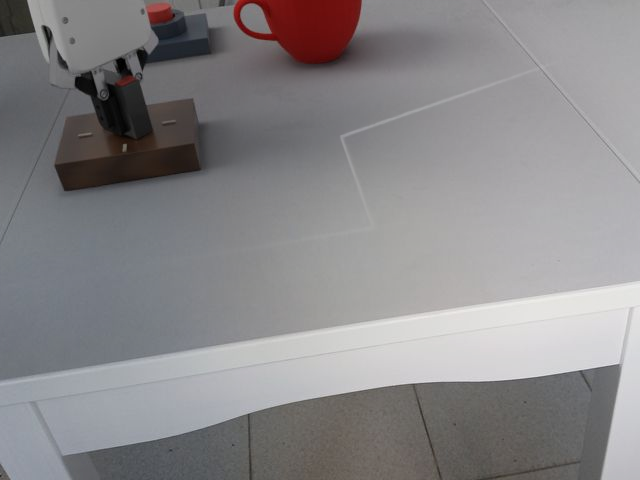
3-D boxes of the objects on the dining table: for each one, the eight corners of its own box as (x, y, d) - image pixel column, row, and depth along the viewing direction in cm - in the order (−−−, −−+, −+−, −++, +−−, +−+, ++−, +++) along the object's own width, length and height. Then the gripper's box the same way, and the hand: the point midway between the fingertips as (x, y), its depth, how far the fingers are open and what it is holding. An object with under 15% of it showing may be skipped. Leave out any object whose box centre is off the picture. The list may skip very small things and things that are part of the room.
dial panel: (64, 191, 74) (53, 163, 72) (75, 141, 82) (65, 115, 80) (200, 169, 75) (193, 141, 73) (198, 123, 83) (192, 96, 81)
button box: (121, 67, 97) (112, 36, 94) (126, 40, 104) (117, 11, 102) (211, 54, 98) (204, 23, 95) (208, 28, 105) (203, -1, 102)
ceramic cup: (225, 60, 96) (209, -22, 89) (336, 27, 101) (329, -52, 94) (266, 92, 87) (252, 5, 81) (385, 55, 93) (381, -30, 86)
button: (146, 27, 97) (143, 13, 96) (147, 18, 100) (144, 4, 99) (173, 23, 98) (170, 9, 96) (173, 14, 100) (170, 0, 99)
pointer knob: (101, 126, 77) (83, 73, 73) (117, 118, 78) (101, 65, 74) (137, 139, 74) (120, 85, 70) (153, 131, 75) (138, 76, 72)
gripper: (112, -97, 70) (161, 89, 82) (-39, -50, 61) (41, 149, 74) (163, -91, 66) (206, 103, 78) (9, -40, 57) (85, 168, 70)
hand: (126, 124), depth 76 cm, fingers closed on pointer knob, 2 cm apart
